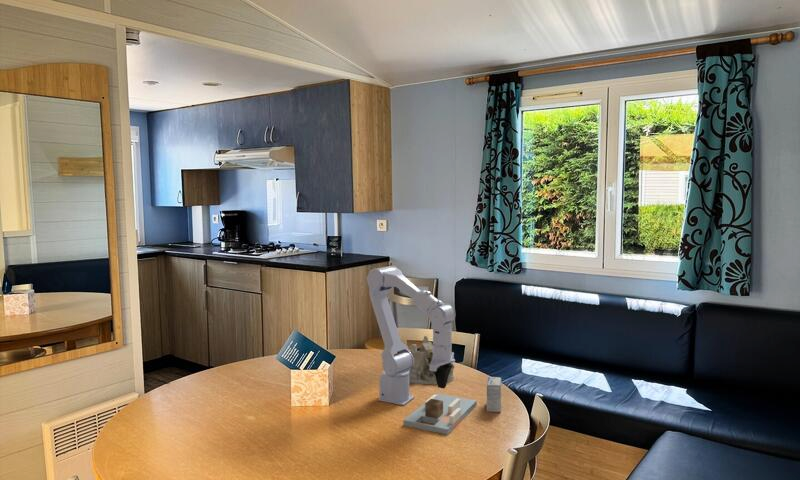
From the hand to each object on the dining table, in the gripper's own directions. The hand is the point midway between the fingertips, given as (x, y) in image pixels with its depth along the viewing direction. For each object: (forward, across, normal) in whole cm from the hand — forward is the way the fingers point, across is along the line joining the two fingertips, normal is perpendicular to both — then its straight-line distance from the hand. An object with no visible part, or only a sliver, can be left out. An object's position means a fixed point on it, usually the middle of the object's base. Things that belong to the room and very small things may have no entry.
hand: (441, 387), depth 172 cm
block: (+6, -6, 0) cm, 9 cm away
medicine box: (+8, +12, -13) cm, 19 cm away
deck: (+8, -2, -1) cm, 8 cm away
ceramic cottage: (+9, +26, +17) cm, 32 cm away
